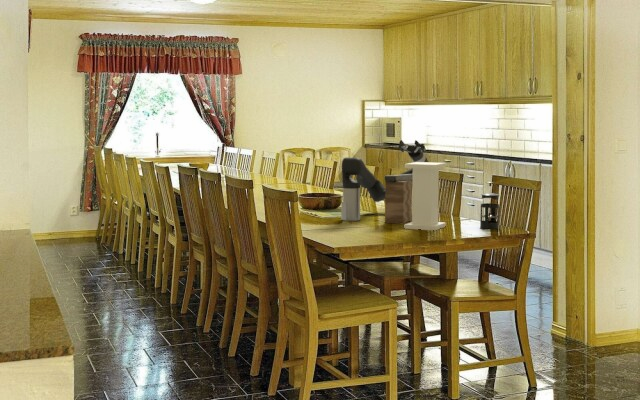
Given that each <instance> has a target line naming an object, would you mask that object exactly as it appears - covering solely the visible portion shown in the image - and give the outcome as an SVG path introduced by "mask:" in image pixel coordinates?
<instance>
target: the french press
mask: <svg viewBox="0 0 640 400" xmlns="http://www.w3.org/2000/svg"><path fill="white" fill-rule="evenodd" d="M485 183H486V184H488V186H489V192H486V193H481V194H480V195H481V199H493V200H499V196H500V194H499V193H491V191H492V190H491V187H492V184H495V181H487V182H485ZM483 209H484V214H483ZM496 211H497V212H496ZM499 215H500V204H499V203H493V202H492V203H491V202H489V203H488V202H486V203H480V223H479V224H480V226H479V229H480V230H486V229H496V230H499V229H500V216H499ZM483 218H484V220H483ZM489 219H490V220H489ZM498 228H499V229H498Z"/></svg>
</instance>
